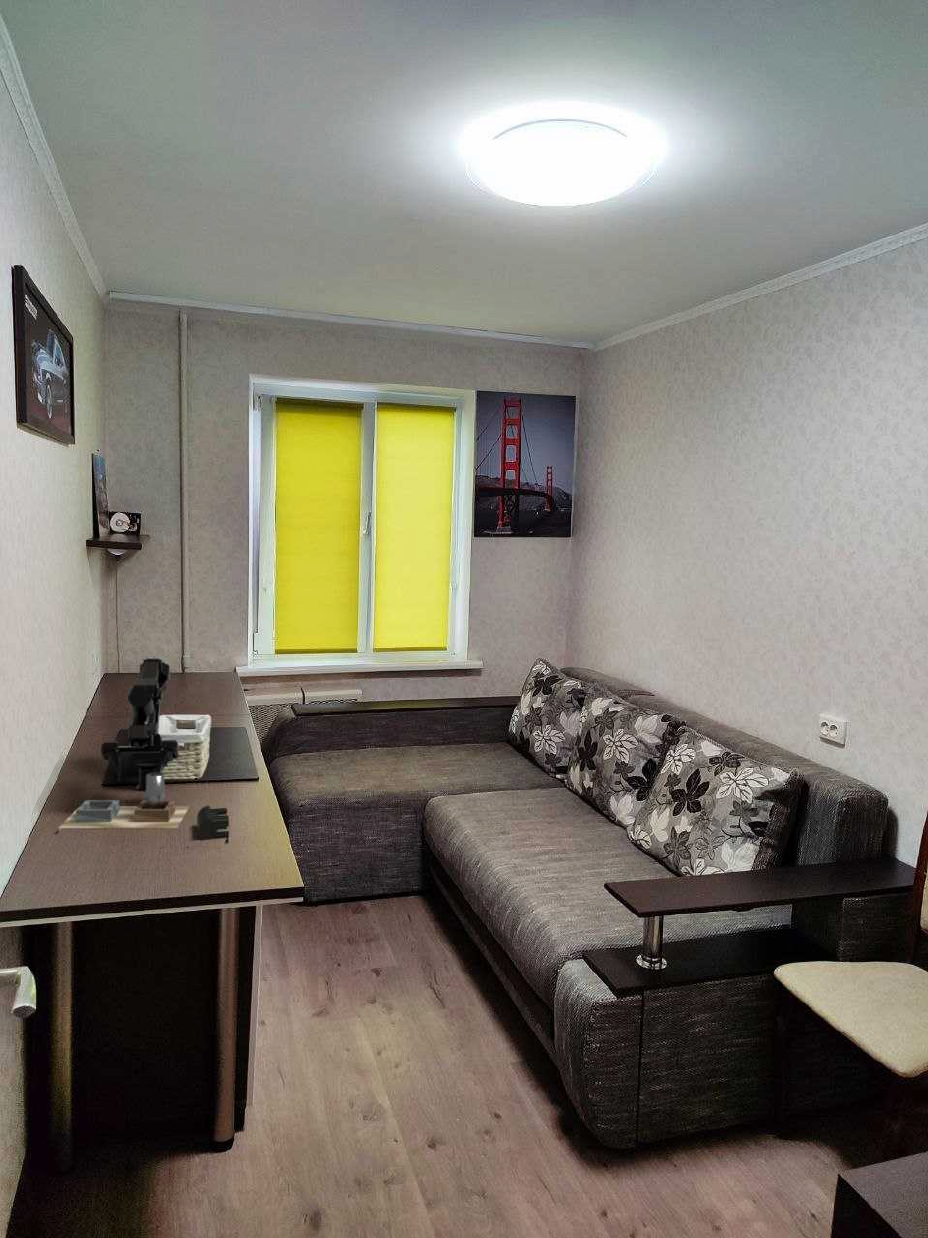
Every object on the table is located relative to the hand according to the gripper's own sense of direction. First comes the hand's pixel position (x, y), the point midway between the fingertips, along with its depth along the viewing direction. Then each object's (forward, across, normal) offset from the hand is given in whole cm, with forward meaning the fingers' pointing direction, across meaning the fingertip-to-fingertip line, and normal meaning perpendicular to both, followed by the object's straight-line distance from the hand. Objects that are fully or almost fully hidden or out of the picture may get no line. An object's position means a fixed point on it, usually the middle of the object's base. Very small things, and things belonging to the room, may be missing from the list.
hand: (137, 780), depth 229 cm
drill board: (+10, -2, +4) cm, 11 cm away
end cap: (+19, +19, -5) cm, 28 cm away
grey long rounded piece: (+9, +5, +3) cm, 11 cm away
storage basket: (-21, +7, +39) cm, 45 cm away
